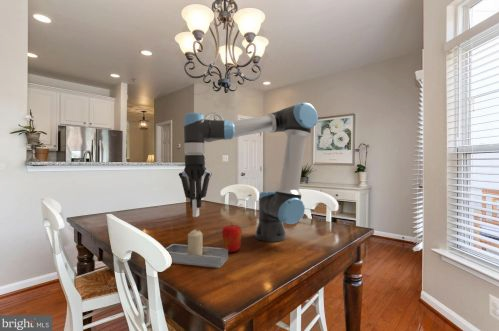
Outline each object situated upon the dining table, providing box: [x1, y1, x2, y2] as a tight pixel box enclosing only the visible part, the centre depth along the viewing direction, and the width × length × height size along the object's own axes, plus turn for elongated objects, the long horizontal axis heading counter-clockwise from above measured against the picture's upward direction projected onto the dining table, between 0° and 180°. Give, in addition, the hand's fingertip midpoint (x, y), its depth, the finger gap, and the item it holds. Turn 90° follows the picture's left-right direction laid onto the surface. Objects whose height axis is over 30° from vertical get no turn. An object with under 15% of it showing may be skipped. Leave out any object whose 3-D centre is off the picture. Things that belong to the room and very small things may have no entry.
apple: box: [221, 223, 243, 253], centre depth 108 cm, size 9×8×12 cm
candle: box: [187, 228, 204, 255], centre depth 98 cm, size 6×6×10 cm
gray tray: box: [164, 243, 229, 269], centre depth 98 cm, size 24×10×4 cm, turn 77°
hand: (196, 216), depth 98 cm, fingers closed
